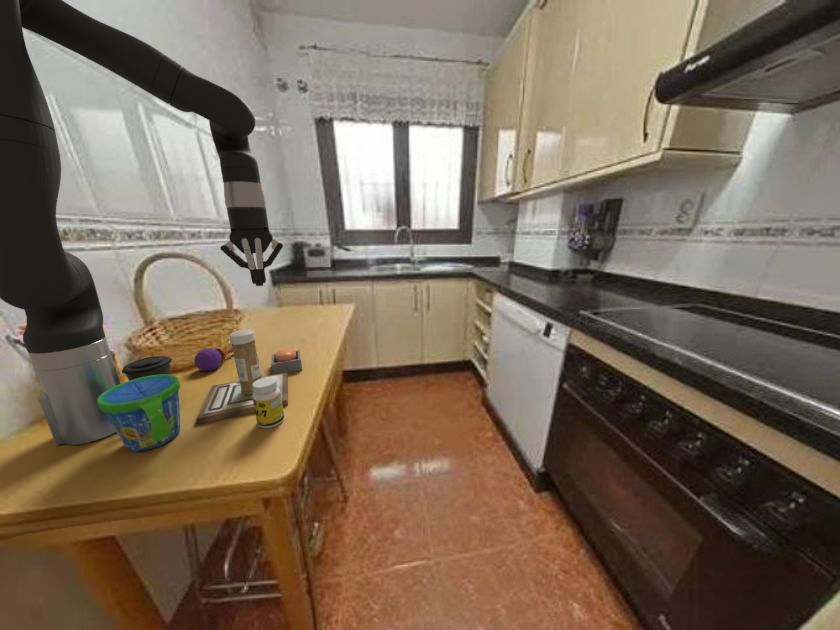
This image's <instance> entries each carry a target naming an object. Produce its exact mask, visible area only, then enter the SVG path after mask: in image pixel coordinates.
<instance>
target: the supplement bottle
mask: <svg viewBox="0 0 840 630" xmlns="http://www.w3.org/2000/svg"><path fill="white" fill-rule="evenodd" d="M252 386H253V392H254V393H253V395H252V399H253V404H254V409H255V412H254V413H255V414H254V415H255V419H256V424H257V426H258V427H259V428H262V429H271V428H275V427H277V426H278V425H280V424H281V423H283V422H284V420H285V412H284V406H283V405H282V399H281V392H280V389H279V388H278V387H277V382H276V379H275V378H272V377H267V378H262V379H259V380H257V381H255V382H254V383H253V385H252Z"/></svg>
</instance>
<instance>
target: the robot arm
mask: <svg viewBox="0 0 840 630" xmlns="http://www.w3.org/2000/svg"><path fill="white" fill-rule="evenodd" d="M23 29H25V30H28V31H29V32H32V33H34V34H36V35H39V36H41V37H43V38H45V39H46V40H49V41H52V42H54V43H55V44H57V45H59V46H62V47H64V48H66V49H68V50H70V51H72V52H74V53H75V54H78V55H80V56H82V57H84V58H86V59H88V60H89V61H91V62H94V63H95V64H97V65H99V66H100V67H103V68H105V69H107V70H108V71H110V72H112V73H113V74H115V75H117V76H118V77H121V78H122V79H125V81H127V82H129V83H131V84H133V85H134V86H137V87H138V88H140V89H142V90H144V91H145V92H146V93H149V94H150V95H152V96H153V97H155V98H157V99H159V100H160V101H162V102H164V103H166V104H167V105H170V106H171V107H173V108H175V109H177V110H179V111H181V112H184V113H194V114H197V115H198V116H200V117H202V118H203V119H206V120H208V125H209V127H210V128H209V129H210V134H211V137H212V140H213V143H214V147H215V150H216V152H217V156H218V158H219V163H220V164H219V165H220V166H219V167H220V172H221V177H222V182H223V195H224V205H225V206H226V212H227V218H228V223H229V228H230V234H229V237H228V238H229V240H228V241H227V242H226V243H225V244H223V245H221V246H220V250H221V251H222V252H223V253H224V254H225V255H226V256H228V257H229V258H230V260H232V261H233V262H234V263H235V264H236V265H237V266H238V267H240V268H241V269H243V268H244V269H247V270H249V272H250V278H251V283H252V284H253V285H255V287H263V286H264V284H265V283H266V281H267V279H266V273H265V272H266V271H265V269H266V268H267V267H270V266H272V264H273V262H274V261H275V259H276V258H277V256H278V255H279V254H280V252H281V251H282V249H283V247H284V244H283V243H282V242H279V241H277V240H276V239H275V238H274V237H273V234H272V233H271V231H270V226H269V221H268V214H267V208H266V207H267V206H266V200H265V195H264V191H263V188H262V183H261V177H260V169H259V164H258V161H257V159H256V157H255V156H254V155H253V154H252V150H251V147H250V142H249V136H250V135H251V134H252V133H253V131H254V130H255V128H256V117H255V114H254V112H253V110H252V108H251V107H250V106H249V105H248V103H246V102H245V100H244V99H242V98H241V97H239V96H238V95H237V94H235V93H234V92H232V91H230V90H228V89H226V88H224V87H223V86H220V85H219V84H216V83H214V82H213V81H210V80H208V79H206V78H203V77H201V76H199V75H197V74H195V73H193V72H192V71H190V70H189V69H187V68H186V67H184V66H182V65H181V64H180V63H178V62H177V61H175V60H173V59H172V58H170V57H169V56H168V55H166V54H164V53H163V52H161V51H160V50H159V49H156V48H155V47H154V46H152V45H150V44H148V43H147V42H145V41H143V40H142V39H139V38H137V37H135V36H133V35H131V34H129V33H126V32H124V31H122V30H120V29H118V28H116V27H113V26H111V25H108V24H107V23H104V22H102V21H100V20H97V19H95V18H93V17H91V16H90V15H88V14H87V13H84V12H83V11H80V10H78V9H77V8H75V6H73V5H70V4H69V3H67V2H66V1H64V0H0V300H1V301H3V302H5V303H6V304H8V305H10V306H12V307H14V308H17V309H20V310H24V313H25V316H26V325H25V329H24V331H23V335H22V341H23V344H24V346H25V349H26V351H27V354H28V356H29V359H30V363H32V367H33V369H34V372H35V374H36V377H37V379H38V381H39V382H38V383H39V384H40V386H41V389H42V392H41V393H40V394H39V395H38V396H37V401H38V403H39V407H40V408H41V411H42V413H43V416H44V418H45V421H46V424H47V426H48V429H49V431H50V434H51V436H52V439H53V440H54V444H55V445H56V446H59V445H69V446H70V445H71V446H76V445H83V444H89V443H91V442H96V441H98V440H101V439H104V438H107V437H108V436H111V435H113V434H115V433H117V432H116V431H115V429H114V427H113V426H112V424H111V422H110V421H109V419H108V417H107V415H106V414H105V413H104V412H103V411H101V410H100V409H99V407H98V403H97V399H98V397H99V396H100V395H101V394H102V393H104V392H105V391H107V390H109V389H110V388H112V387H114V386H117V385H119V384H122V383H121V381H120V377H119V374H118V372H117V371H118V370H117V369H116V365H115V361H114V359H113V355H112V352H111V350H110V347H109V343H108V341H107V337H106V333H105V331H104V313H103V310H102V309H103V308H102V306H101V302H100V298H99V294H98V291H97V288H96V285H95V280H94V278H93V276H92V273H91V271H90V269H89V267H88V266H87V264H85V262H84V261H83V260H81V259H80V257H78V256H76V255H74V254H72V253H70V252H68V251H65V249H64V246H63V243H62V239H61V236H60V232H59V227H58V222H57V205H58V197H59V193H60V192H59V191H60V187H61V179H62V161H61V153H60V148H59V144H58V138H57V134H56V129H55V125H54V122H53V118H52V115H51V114H52V113H51V111H50V107H49V105H48V101H47V99H46V96H45V93H44V90H43V88H42V86H41V83H40V80H39V78H38V75H37V72H36V70H35V68H34V65H33V63H32V61H31V57H30V55H29V52H28V49H27V46H26V45H27V44H26V42H25V36H24V31H23ZM270 244H271V249H272V252H271V253H270V255H269V257H268V258H267V259H266V260H265V261H264V253H265V252H267V249H268V248H269V246H270ZM234 246H235V247H236V248H237V249H238V250H239V251H240V252H241V253H242V254H244V255H245V256H244V257H245V259H246V261H245V260H244V259H243V258H242V257H241V256H239V254H237V252H235V250H236V249H235V247H234ZM254 254H255V257H256V259H255V257H254ZM255 260H256V261H255Z"/></svg>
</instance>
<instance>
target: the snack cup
mask: <svg viewBox="0 0 840 630" xmlns="http://www.w3.org/2000/svg"><path fill="white" fill-rule="evenodd" d="M180 388H181V382H180V378H179V377H178V376H176V375H173V374H171V375H169V374H160V375H151V376H146V377H141V378H137V379H134V380H130V381H129V380H128V381H124V382H122V383H121V384H119V385H117V386H114V387H112V388H110V389H109V390H107V391H105V392H104V393H102V394H101V395H100V396H99V397H98V399H97V403H98V407H99V409H100V410H101V411H103V412H104V413H105V414H106V415H107V417H108V419H109V421H110V422H111V424H112V426H113V427H114V429H115V431H116V432H115V433H116V434H117V435H118V437H119V439H120V441H121V442H122V443H123V445H124V446H125V448H126V449H128V450H130V451H132V452H134V453H137V452H138V453H139V452H140V451H147V450H151V449H155V448H158V447H162V446H163V445H165V444H166V443H168V442H170V441H171V440H172V439H174V438H175V437H176V436H177V435H178V434H179V433H180V432H181V412H180V410H181V409H180V395H179V391H180Z"/></svg>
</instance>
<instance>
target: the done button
mask: <svg viewBox="0 0 840 630" xmlns="http://www.w3.org/2000/svg"><path fill="white" fill-rule="evenodd" d="M296 351H297V350H295V349H292V348H291V349H283V350H279V351H278V352H276V353H274V354H275V358H276V363H277V362H283V361H289V360H295V359H297V358H296Z"/></svg>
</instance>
